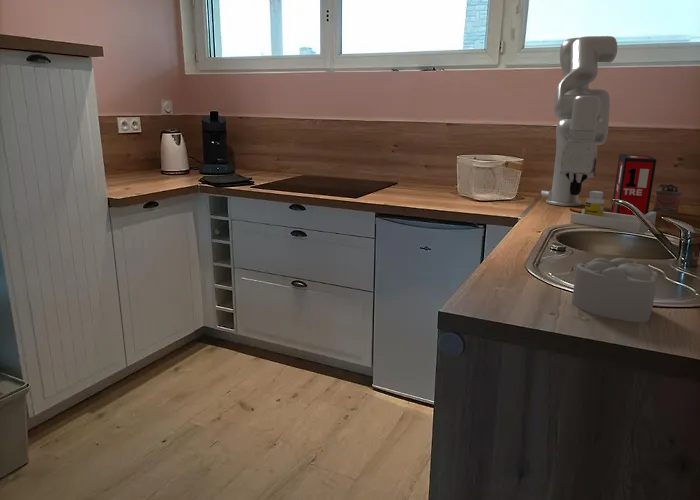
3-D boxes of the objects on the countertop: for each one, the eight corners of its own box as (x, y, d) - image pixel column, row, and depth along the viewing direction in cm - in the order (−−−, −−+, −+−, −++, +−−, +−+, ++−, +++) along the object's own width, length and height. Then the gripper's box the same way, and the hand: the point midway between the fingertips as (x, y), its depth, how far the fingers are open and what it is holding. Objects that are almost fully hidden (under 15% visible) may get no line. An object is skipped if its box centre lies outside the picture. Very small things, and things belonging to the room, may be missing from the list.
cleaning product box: (611, 211, 192) (619, 154, 187) (639, 213, 190) (648, 155, 184) (616, 219, 177) (625, 158, 172) (646, 222, 175) (656, 159, 169)
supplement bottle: (579, 221, 173) (583, 191, 170) (589, 220, 176) (593, 190, 173) (595, 225, 169) (599, 193, 166) (605, 223, 172) (609, 192, 169)
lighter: (678, 212, 192) (683, 184, 189) (677, 213, 189) (683, 185, 187) (652, 209, 196) (657, 182, 194) (651, 211, 193) (656, 183, 191)
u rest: (570, 222, 172) (572, 206, 170) (582, 217, 179) (584, 202, 178) (644, 233, 158) (647, 216, 157) (653, 228, 165) (656, 212, 164)
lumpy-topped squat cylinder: (647, 325, 91) (655, 276, 88) (565, 309, 97) (571, 262, 95) (653, 307, 99) (661, 262, 97) (577, 293, 106) (583, 250, 104)
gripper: (553, 135, 172) (547, 193, 177) (602, 137, 162) (594, 198, 167) (563, 135, 177) (556, 190, 182) (611, 137, 167) (602, 196, 172)
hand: (574, 194), depth 174 cm, fingers closed
